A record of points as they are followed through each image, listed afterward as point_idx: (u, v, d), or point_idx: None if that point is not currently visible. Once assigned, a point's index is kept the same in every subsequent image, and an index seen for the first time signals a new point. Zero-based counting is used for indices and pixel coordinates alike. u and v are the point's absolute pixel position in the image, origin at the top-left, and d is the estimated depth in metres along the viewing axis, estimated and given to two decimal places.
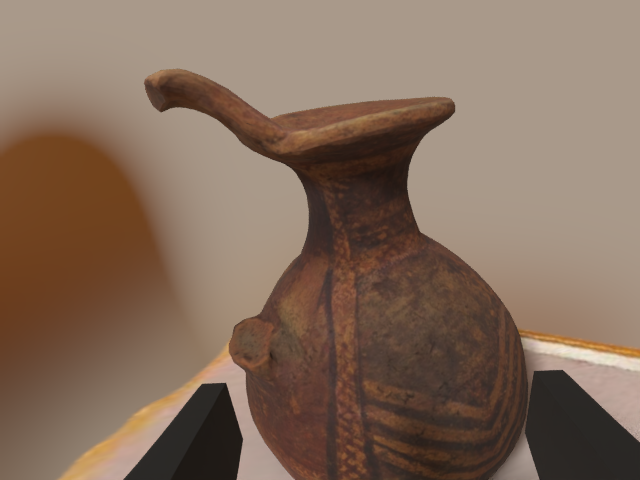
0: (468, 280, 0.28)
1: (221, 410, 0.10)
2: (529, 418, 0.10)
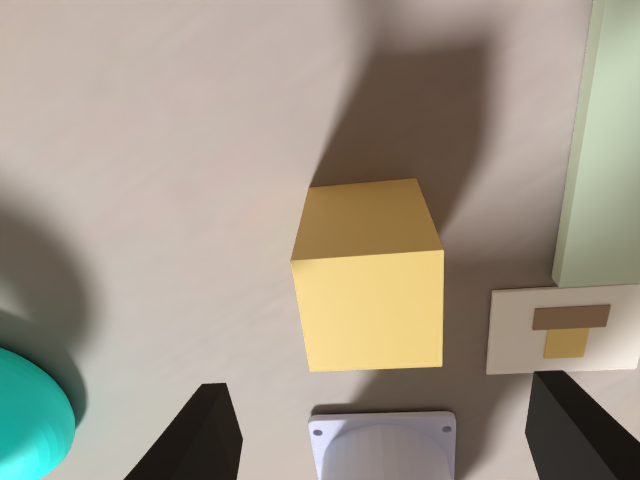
0: None
1: (221, 410, 0.10)
2: (529, 418, 0.10)
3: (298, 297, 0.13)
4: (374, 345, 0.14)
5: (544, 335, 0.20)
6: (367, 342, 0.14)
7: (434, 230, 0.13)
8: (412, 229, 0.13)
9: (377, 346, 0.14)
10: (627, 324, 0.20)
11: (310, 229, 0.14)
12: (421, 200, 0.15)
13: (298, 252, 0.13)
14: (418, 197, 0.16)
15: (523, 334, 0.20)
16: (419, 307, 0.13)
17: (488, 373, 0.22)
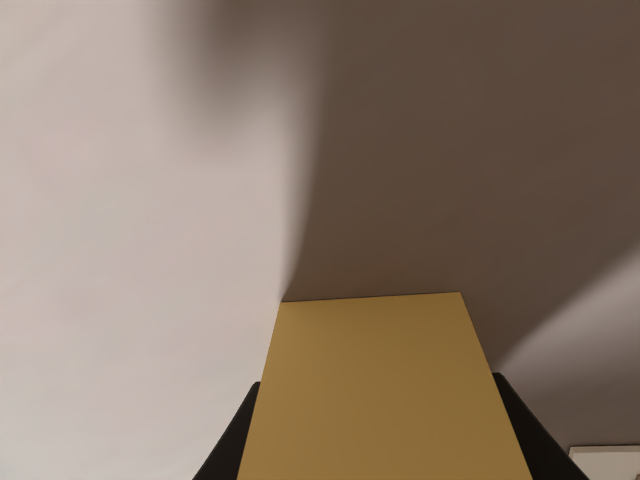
0: None
1: None
2: None
3: None
4: None
5: None
6: None
7: None
8: (480, 471, 0.06)
9: None
10: None
11: (269, 443, 0.07)
12: (481, 363, 0.08)
13: None
14: (474, 352, 0.09)
15: None
16: None
17: None
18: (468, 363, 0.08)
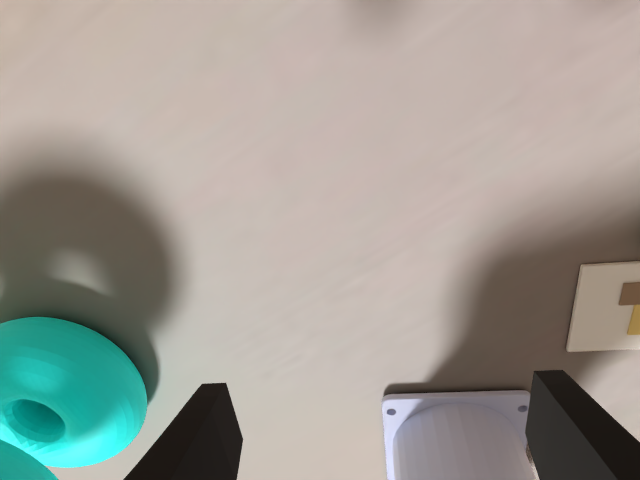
0: None
1: (221, 410, 0.10)
2: (529, 418, 0.10)
3: None
4: None
5: (630, 310, 0.20)
6: None
7: None
8: None
9: None
10: None
11: None
12: None
13: None
14: None
15: (609, 310, 0.20)
16: None
17: (569, 350, 0.22)
18: None
